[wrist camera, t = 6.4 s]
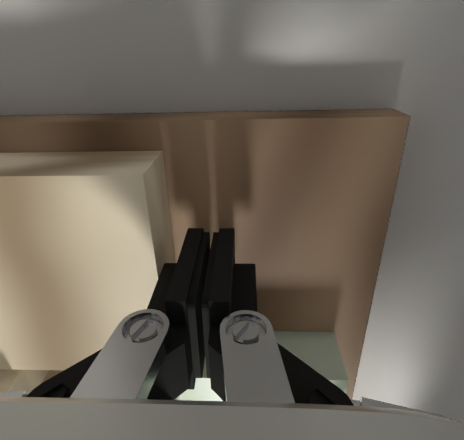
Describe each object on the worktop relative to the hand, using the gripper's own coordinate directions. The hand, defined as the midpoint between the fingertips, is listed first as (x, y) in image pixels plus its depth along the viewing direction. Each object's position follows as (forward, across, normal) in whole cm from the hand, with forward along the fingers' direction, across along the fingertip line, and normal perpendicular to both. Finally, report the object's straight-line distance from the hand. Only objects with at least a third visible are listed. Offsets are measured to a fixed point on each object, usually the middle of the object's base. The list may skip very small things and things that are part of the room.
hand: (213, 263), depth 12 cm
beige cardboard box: (+1, +5, 0) cm, 5 cm away
